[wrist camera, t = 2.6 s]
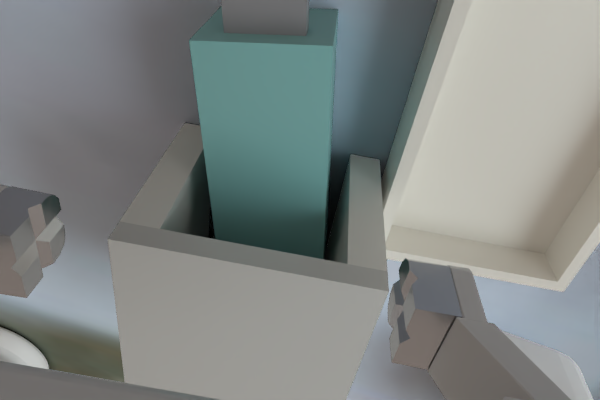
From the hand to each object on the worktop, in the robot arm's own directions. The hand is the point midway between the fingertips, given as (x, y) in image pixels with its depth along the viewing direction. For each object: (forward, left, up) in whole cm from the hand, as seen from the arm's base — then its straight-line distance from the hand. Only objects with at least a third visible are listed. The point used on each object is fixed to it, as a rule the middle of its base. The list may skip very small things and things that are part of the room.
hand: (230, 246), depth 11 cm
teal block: (+4, 0, -13) cm, 13 cm away
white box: (+10, 0, -13) cm, 16 cm away
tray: (0, +11, -13) cm, 16 cm away
